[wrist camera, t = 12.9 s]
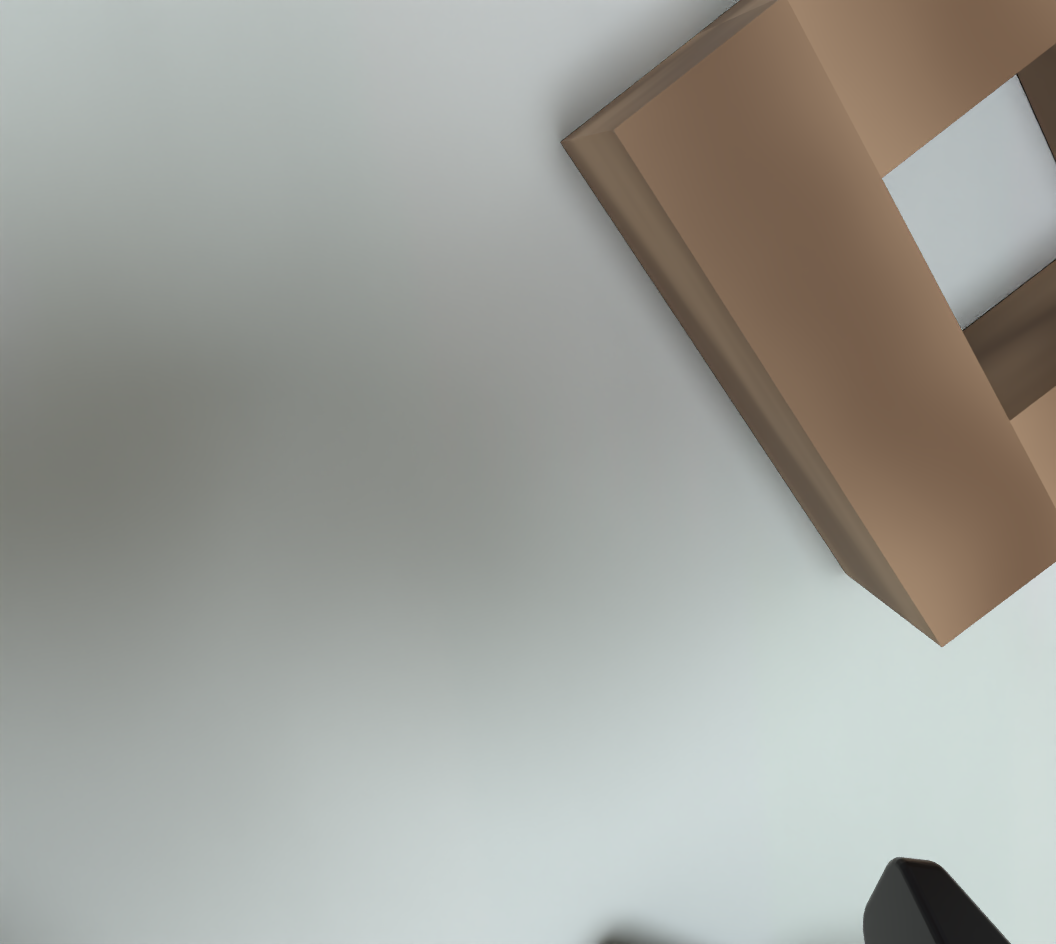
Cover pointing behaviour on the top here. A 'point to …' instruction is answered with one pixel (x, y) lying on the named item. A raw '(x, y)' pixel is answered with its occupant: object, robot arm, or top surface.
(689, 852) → the top surface
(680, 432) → the top surface
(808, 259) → the housing
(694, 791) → the top surface
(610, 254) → the top surface
